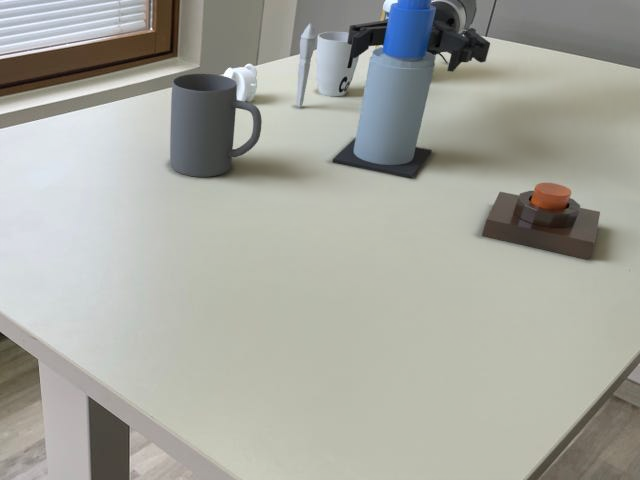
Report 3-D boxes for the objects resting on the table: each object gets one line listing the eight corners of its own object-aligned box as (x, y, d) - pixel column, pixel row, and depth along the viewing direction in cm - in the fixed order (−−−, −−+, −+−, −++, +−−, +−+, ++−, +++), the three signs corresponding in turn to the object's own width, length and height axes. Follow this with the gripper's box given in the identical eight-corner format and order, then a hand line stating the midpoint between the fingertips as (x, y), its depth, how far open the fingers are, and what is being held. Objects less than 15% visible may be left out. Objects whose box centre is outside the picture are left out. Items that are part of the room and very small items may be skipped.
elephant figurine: (238, 91, 137) (240, 58, 134) (267, 102, 132) (271, 68, 129) (211, 97, 134) (213, 64, 130) (240, 108, 129) (243, 74, 125)
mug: (157, 169, 105) (159, 84, 98) (189, 150, 112) (192, 69, 104) (241, 190, 100) (249, 101, 93) (269, 169, 106) (278, 85, 99)
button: (567, 202, 89) (573, 186, 88) (564, 214, 86) (570, 198, 85) (532, 195, 91) (538, 180, 89) (528, 207, 88) (533, 191, 86)
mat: (431, 153, 112) (432, 150, 112) (412, 178, 104) (413, 175, 104) (356, 139, 117) (357, 135, 117) (332, 162, 109) (332, 159, 108)
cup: (345, 101, 133) (355, 43, 128) (304, 94, 137) (311, 37, 131) (359, 90, 139) (368, 35, 133) (319, 84, 142) (326, 29, 136)
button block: (593, 227, 92) (605, 198, 89) (587, 259, 85) (600, 228, 82) (494, 206, 96) (503, 178, 94) (481, 235, 89) (490, 205, 87)
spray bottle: (422, 152, 111) (465, -30, 96) (399, 169, 105) (441, -22, 90) (368, 139, 115) (401, -37, 100) (343, 155, 109) (375, -30, 95)
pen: (299, 104, 132) (310, 21, 123) (309, 107, 130) (321, 24, 122) (289, 106, 131) (299, 22, 122) (299, 110, 129) (310, 25, 121)
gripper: (511, 61, 113) (488, 95, 98) (355, 41, 122) (313, 69, 107) (526, 9, 108) (505, 36, 93) (363, -8, 118) (320, 14, 103)
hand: (402, 54), depth 100 cm, fingers open, 13 cm apart
